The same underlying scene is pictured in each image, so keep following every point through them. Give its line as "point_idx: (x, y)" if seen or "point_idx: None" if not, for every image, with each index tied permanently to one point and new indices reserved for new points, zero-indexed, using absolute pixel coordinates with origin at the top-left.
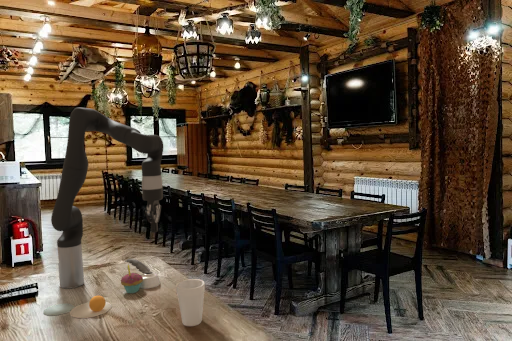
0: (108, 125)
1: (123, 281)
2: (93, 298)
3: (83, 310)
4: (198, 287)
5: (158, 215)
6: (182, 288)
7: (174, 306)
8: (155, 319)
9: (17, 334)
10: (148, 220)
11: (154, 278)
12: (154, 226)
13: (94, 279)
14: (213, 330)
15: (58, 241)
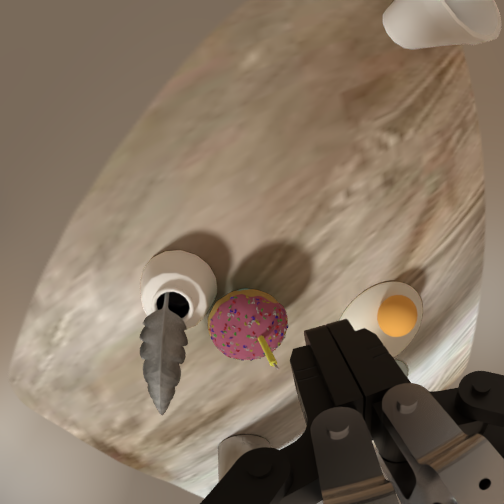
0: None
1: (283, 337)
2: (413, 326)
3: (389, 336)
4: None
5: (336, 494)
6: (498, 18)
7: (333, 101)
8: (416, 124)
9: (464, 359)
10: (489, 428)
11: (183, 269)
12: (393, 365)
13: (197, 433)
14: None
15: None
